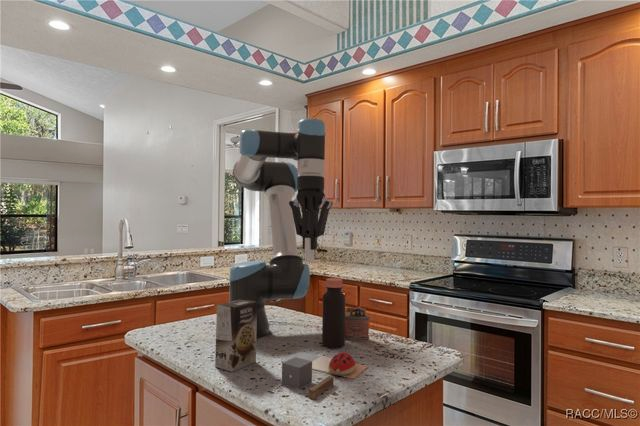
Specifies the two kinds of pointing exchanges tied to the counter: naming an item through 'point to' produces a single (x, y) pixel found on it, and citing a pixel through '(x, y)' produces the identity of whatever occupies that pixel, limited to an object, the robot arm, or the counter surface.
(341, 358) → the ladybug figurine
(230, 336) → the coffee box
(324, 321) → the bottle
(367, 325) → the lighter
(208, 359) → the counter surface
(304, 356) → the track
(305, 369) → the die
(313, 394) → the brown bar
